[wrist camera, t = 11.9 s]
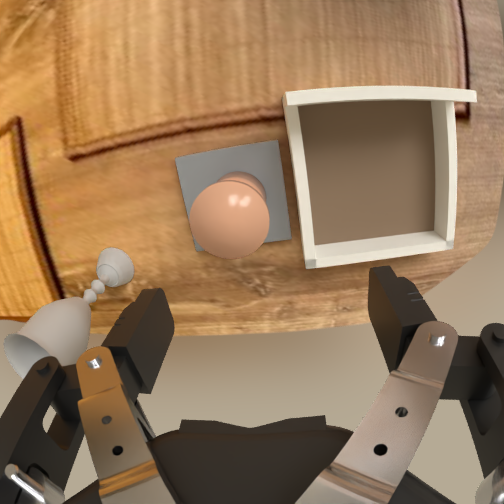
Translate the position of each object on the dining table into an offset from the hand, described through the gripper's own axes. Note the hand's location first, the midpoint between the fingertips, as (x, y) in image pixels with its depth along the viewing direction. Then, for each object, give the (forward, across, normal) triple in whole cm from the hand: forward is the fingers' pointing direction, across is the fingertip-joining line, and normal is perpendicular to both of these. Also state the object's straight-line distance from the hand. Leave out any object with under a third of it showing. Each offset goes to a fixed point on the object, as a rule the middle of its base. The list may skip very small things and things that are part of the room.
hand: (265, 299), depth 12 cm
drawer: (+21, -10, 0) cm, 23 cm away
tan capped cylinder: (+20, +3, +1) cm, 20 cm away
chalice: (+21, +20, +8) cm, 30 cm away
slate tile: (+21, +4, +1) cm, 21 cm away
